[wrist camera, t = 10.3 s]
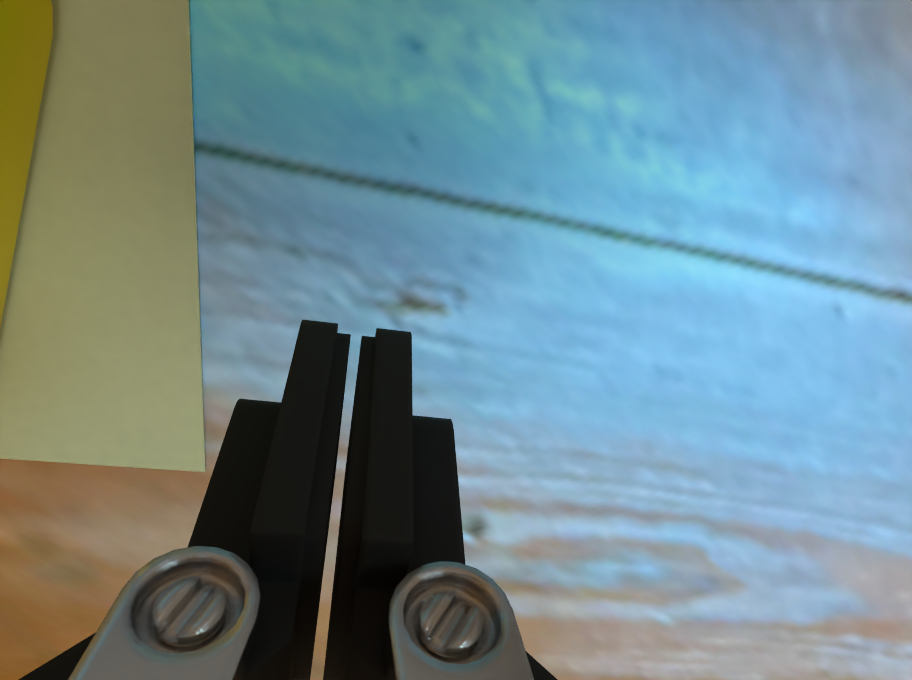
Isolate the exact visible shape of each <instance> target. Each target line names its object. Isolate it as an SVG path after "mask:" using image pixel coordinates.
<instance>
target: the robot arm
mask: <svg viewBox="0 0 912 680" xmlns="http://www.w3.org/2000/svg"><path fill="white" fill-rule="evenodd" d="M337 331H338V324H336V323H328V322H319V321H310V320H302V322H301V325H300V329H299V333H298V337H297V342H296V346H295V350H294V354H293V358H292V362H291V366H290V370H289V374H288V378H287V382H286V386H285V390H284V394H283V399H282V403H278V402H268V401H257V400H247V399H239V400H238V401H237V403H236V405H235V408H234V411H233V414H232V417H231V420H230V423H229V426H228V429H227V431H226V434H225V437H224V440H223V443H222V446H221V449H220V452H219V455H218V458H217V461H216V464H215V467H214V470H213V473H212V476H211V479H210V482H209V485H208V488H207V491H206V494H205V497H204V500H203V503H202V506H201V509H200V512H199V515H198V518H197V521H196V524H195V527H194V530H193V533H192V536H191V539H190V542H189V545H188V548H182V549H177V550H173V551H171V552H168V553H166V554H164V555H162V556H159V557H157V558H155V559H153V560H152V561H150V562H149V563H147V564H146V565H145V566H143V567H142V568H141V569H139V570H138V571H137V572H135V574H134V575H133V576H132V577H131V579H130V580H129V581H128V582H127V584H126V585H125V586H124V587H123V589H122V590H121V592H120V593H119V595H118V597H117V598H116V600H115V602H114V603H113V605H112V607H111V608H110V610H109V612H108V613H107V615H106V617H105V618H104V620H103V622H102V623H101V625H100V627H99V628H98V630H97V632H96V633H94V634H93V635H91V636H89V637H88V638H86V639H84V640H83V641H81V642H80V643H78V644H76V645H75V646H73V647H71V648H70V649H68V650H66V651H65V652H63V653H62V654H60V655H58V656H57V657H55V658H53V659H52V660H50V661H48V662H47V663H45V664H44V665H42V666H40V667H39V668H37V669H35V670H34V671H32V672H30V673H29V674H27V675H25V676H24V677H22V678H21V679H19V680H310V675H311V667H312V659H313V651H314V642H315V634H316V626H317V618H318V610H319V602H320V594H321V586H322V577H323V569H324V561H325V553H326V545H327V537H328V529H329V521H330V513H331V504H332V496H333V488H334V480H335V472H336V463H337V454H338V445H339V436H340V427H341V418H342V409H343V400H344V391H345V382H346V373H347V364H348V355H349V346H350V336H351V334H342V333H337ZM323 680H557V679H556V678H555V677H554V676H553V675H552V674H551V673H549V672H548V671H547V670H546V669H545V668H544V667H543V666H542V665H541V664H539V663H538V662H537V661H536V660H535V659H534V658H533V657H532V656H531V655H529V654H528V653H527V652H526V651H525V648H524V645H523V642H522V638H521V635H520V632H519V629H518V625H517V622H516V619H515V616H514V612H513V609H512V607H511V605H510V603H509V601H508V599H507V597H506V595H505V593H504V592H503V591H502V589H501V588H500V587H499V586H498V585H497V584H496V583H495V582H494V580H493V579H491V578H490V577H488V576H487V575H485V574H484V573H482V572H481V571H479V570H478V569H476V568H473V567H470V566H467V565H465V555H464V544H463V532H462V521H461V509H460V498H459V486H458V475H457V463H456V452H455V440H454V429H453V423H452V421H451V419H443V418H433V417H423V416H412V336H411V332H405V331H396V330H388V329H379V328H377V329H376V335H375V337H368V336H362V339H361V347H360V355H359V364H358V372H357V380H356V388H355V396H354V405H353V413H352V421H351V429H350V437H349V445H348V454H347V462H346V470H345V479H344V489H343V498H342V508H341V517H340V526H339V536H338V545H337V555H336V564H335V573H334V583H333V592H332V602H331V611H330V620H329V630H328V639H327V649H326V658H325V667H324V677H323Z"/></svg>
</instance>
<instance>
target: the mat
mask: <svg viewBox="0 0 912 680" xmlns="http://www.w3.org/2000/svg"><path fill="white" fill-rule="evenodd" d="M51 2H52V6H53V38H52V44H51V49H50V55H49V60H48V66H47V72H46V77H45V83H44V88H43V94H42V99H41V105H40V110H39V116H38V121H37V127H36V133H35V138H34V144H33V149H32V155H31V160H30V166H29V171H28V177H27V183H26V188H25V194H24V199H23V205H22V210H21V216H20V221H19V227H18V232H17V238H16V244H15V249H14V255H13V260H12V266H11V271H10V277H9V282H8V288H7V294H6V299H5V305H4V310H3V316H2V321H1V327H0V458H1V459H16V460H31V461H46V462H61V463H76V464H91V465H106V466H121V467H136V468H151V469H166V470H181V471H196V472H205V442H204V414H203V385H202V357H201V328H200V300H199V271H198V243H197V215H196V186H195V158H194V129H193V101H192V73H191V44H190V16H189V0H51Z"/></svg>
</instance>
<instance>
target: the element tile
mask: <svg viewBox="0 0 912 680" xmlns="http://www.w3.org/2000/svg"><path fill="white" fill-rule="evenodd" d="M52 38H53V6H52V2H51V0H0V327H1V321H2V316H3V310H4V305H5V299H6V294H7V288H8V282H9V277H10V271H11V266H12V260H13V255H14V249H15V244H16V238H17V232H18V227H19V221H20V216H21V210H22V205H23V199H24V194H25V188H26V183H27V177H28V171H29V166H30V160H31V155H32V149H33V144H34V138H35V133H36V127H37V121H38V116H39V110H40V105H41V99H42V94H43V88H44V83H45V77H46V72H47V66H48V60H49V55H50V49H51V44H52Z"/></svg>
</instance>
